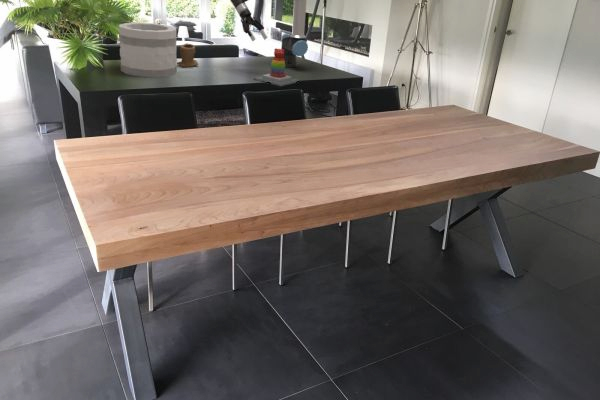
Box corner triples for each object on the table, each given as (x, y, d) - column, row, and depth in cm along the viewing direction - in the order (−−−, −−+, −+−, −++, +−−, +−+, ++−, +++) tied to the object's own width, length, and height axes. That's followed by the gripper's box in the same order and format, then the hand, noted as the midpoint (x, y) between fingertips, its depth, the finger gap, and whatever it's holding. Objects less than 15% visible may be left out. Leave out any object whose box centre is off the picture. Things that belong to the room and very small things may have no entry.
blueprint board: (272, 75, 350) (273, 70, 348) (299, 81, 340) (299, 77, 339) (253, 79, 333) (254, 74, 331) (280, 86, 323) (281, 81, 321)
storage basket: (164, 64, 347) (163, 23, 335) (185, 76, 323) (185, 31, 311) (113, 66, 328) (110, 22, 316) (132, 78, 303) (129, 31, 291)
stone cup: (184, 68, 341) (183, 46, 334) (174, 65, 348) (174, 43, 342) (202, 67, 351) (203, 45, 344) (193, 63, 358) (193, 42, 352)
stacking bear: (286, 75, 339) (288, 48, 332) (284, 78, 330) (286, 50, 323) (270, 73, 340) (272, 46, 332) (268, 76, 331) (270, 48, 323)
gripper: (251, 14, 347) (267, 41, 347) (228, 16, 327) (245, 44, 327) (258, 7, 342) (274, 34, 342) (235, 9, 322) (252, 37, 323)
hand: (260, 39), depth 335 cm, fingers open, 13 cm apart
